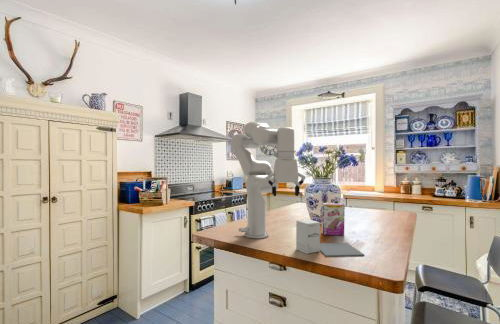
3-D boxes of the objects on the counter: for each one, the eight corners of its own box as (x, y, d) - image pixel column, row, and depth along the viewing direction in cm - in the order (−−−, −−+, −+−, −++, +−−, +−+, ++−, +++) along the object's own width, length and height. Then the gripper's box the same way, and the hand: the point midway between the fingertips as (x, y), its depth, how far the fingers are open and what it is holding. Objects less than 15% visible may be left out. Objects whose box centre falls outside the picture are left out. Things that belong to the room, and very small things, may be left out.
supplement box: (306, 254, 106) (306, 223, 107) (295, 249, 113) (295, 220, 113) (320, 251, 110) (320, 222, 110) (308, 246, 116) (308, 218, 117)
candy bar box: (323, 235, 136) (323, 204, 136) (321, 233, 141) (321, 202, 141) (344, 236, 135) (344, 204, 135) (342, 233, 140) (342, 203, 140)
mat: (325, 256, 104) (325, 255, 104) (313, 244, 120) (313, 243, 120) (364, 255, 105) (364, 254, 105) (346, 244, 121) (346, 242, 121)
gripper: (266, 155, 107) (267, 197, 107) (307, 155, 109) (308, 196, 108) (264, 156, 115) (264, 195, 114) (302, 156, 116) (302, 194, 116)
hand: (285, 195), depth 111 cm, fingers open, 9 cm apart
